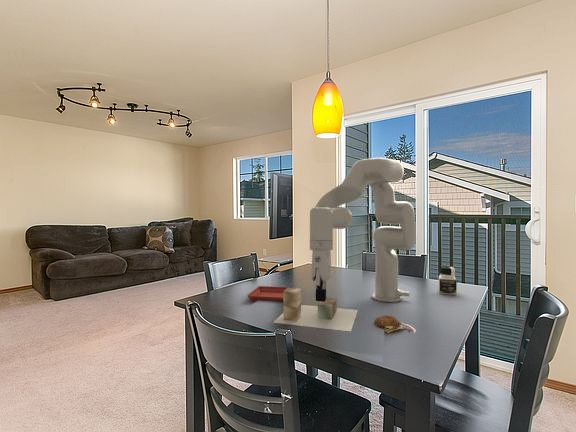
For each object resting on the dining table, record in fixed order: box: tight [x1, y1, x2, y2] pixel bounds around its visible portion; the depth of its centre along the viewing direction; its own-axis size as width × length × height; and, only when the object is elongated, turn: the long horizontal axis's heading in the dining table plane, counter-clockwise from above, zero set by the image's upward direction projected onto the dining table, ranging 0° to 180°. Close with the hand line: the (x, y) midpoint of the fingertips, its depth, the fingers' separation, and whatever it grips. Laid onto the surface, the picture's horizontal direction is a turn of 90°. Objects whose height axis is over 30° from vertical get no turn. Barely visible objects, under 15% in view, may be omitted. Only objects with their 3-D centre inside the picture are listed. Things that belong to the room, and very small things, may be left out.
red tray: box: [247, 285, 291, 303], centre depth 145 cm, size 18×18×3 cm
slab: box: [272, 304, 359, 332], centre depth 117 cm, size 26×22×1 cm
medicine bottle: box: [438, 265, 458, 296], centre depth 153 cm, size 7×7×12 cm
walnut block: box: [317, 296, 338, 320], centre depth 118 cm, size 5×5×10 cm
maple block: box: [282, 287, 302, 321], centre depth 115 cm, size 5×5×10 cm
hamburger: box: [373, 315, 417, 335], centre depth 108 cm, size 14×14×6 cm
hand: (320, 300), depth 107 cm, fingers closed
